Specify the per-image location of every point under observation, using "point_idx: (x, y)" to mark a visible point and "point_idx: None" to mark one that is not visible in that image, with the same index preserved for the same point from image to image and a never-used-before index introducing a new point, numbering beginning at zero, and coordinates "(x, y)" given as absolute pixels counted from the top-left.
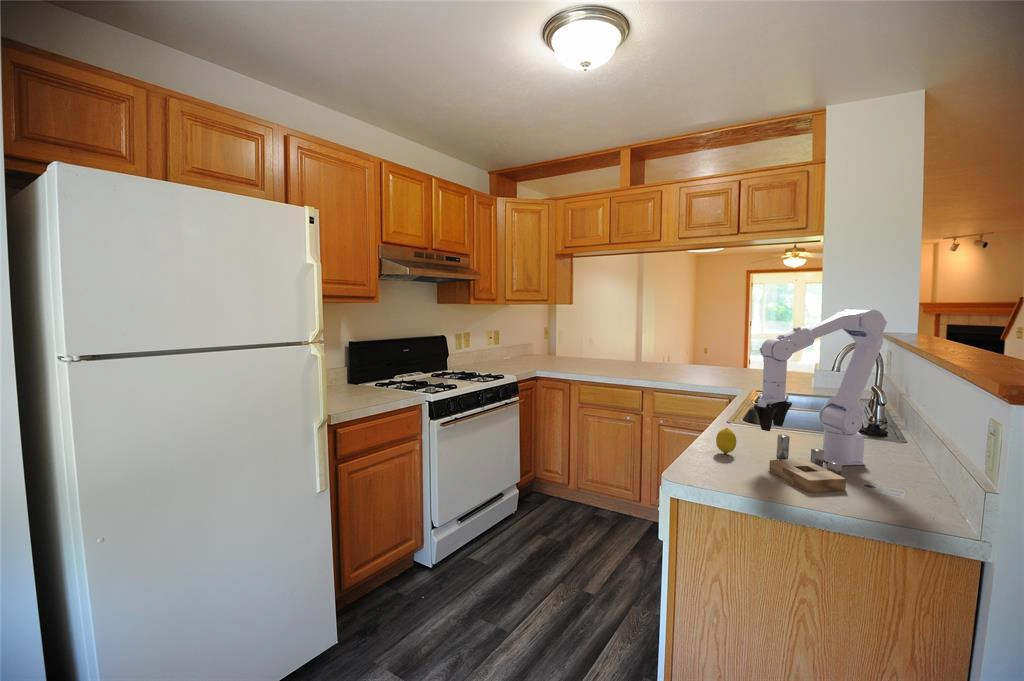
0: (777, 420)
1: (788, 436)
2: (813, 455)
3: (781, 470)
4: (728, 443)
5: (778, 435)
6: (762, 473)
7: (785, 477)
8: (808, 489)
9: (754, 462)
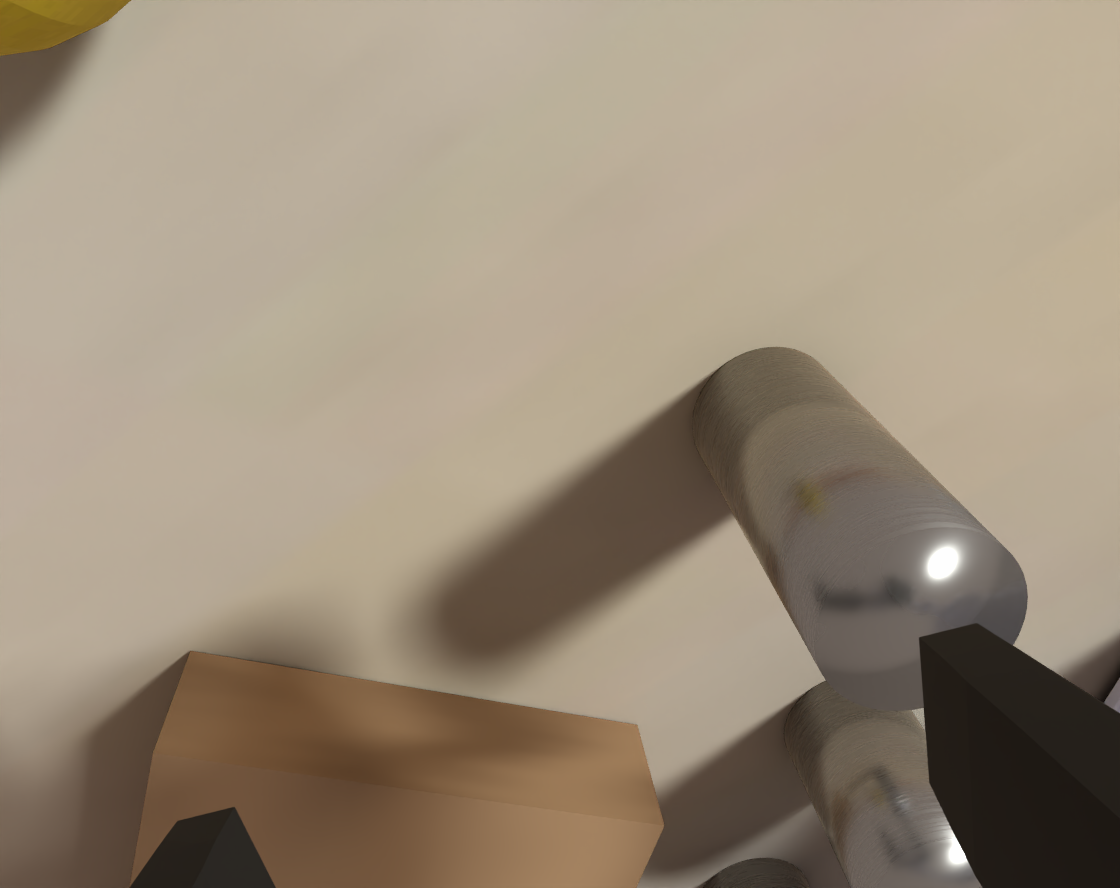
0: (1012, 820)
1: None
2: (840, 848)
3: None
4: None
5: (858, 574)
6: (29, 681)
7: None
8: None
9: (255, 370)
